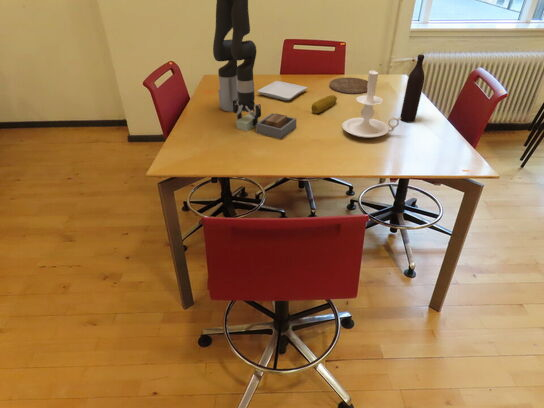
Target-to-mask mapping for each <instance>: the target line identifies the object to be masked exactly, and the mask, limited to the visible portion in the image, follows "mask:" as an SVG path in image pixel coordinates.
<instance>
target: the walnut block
mask: <svg viewBox="0 0 544 408" xmlns="http://www.w3.org/2000/svg"><path fill="white" fill-rule="evenodd" d="M287 117H288V115H285V114H281V113H278V112H277V113H276V112H275V113H274V115H272V116H271V117H269V118H268V119H266V125H268V126H272V127H276V128H280V129H281V128H282V127H283V126H285V125H286V124H287Z"/></svg>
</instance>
